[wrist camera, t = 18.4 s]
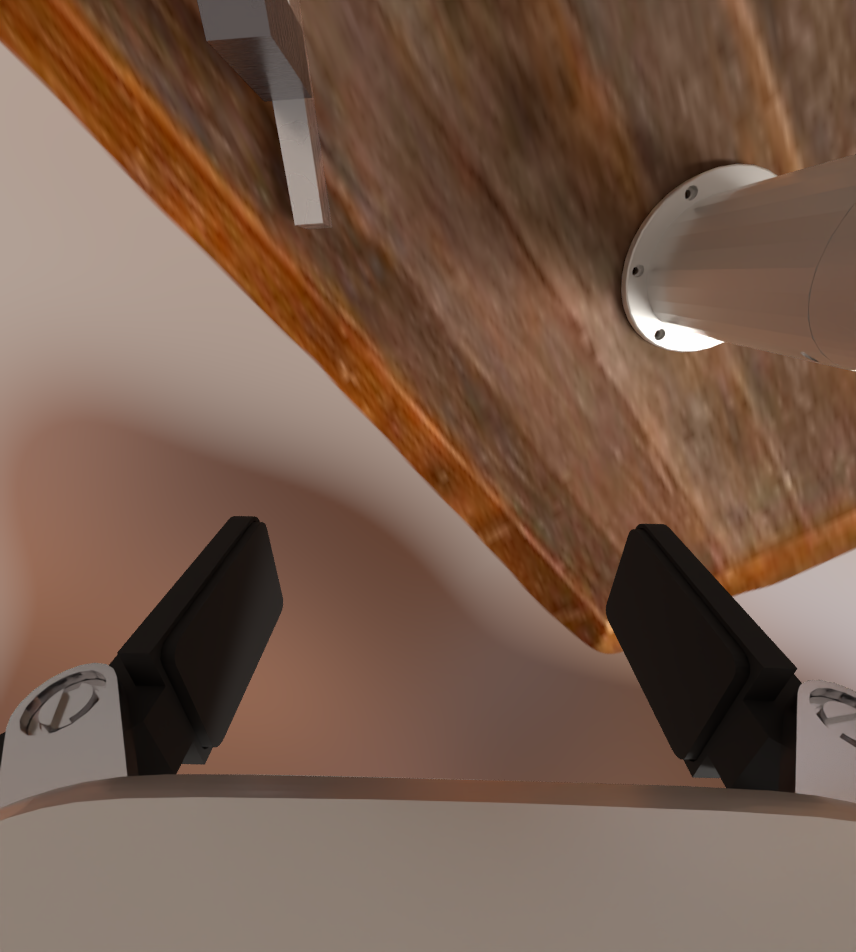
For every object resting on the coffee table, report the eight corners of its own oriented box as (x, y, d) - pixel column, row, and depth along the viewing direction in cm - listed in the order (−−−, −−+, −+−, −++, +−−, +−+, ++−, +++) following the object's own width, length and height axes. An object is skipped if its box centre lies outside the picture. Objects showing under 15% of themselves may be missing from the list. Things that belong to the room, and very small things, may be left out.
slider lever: (293, -103, 22) (202, -357, 13) (339, 227, 29) (300, 207, 21) (242, -99, 22) (117, -348, 13) (300, 229, 30) (245, 210, 21)
